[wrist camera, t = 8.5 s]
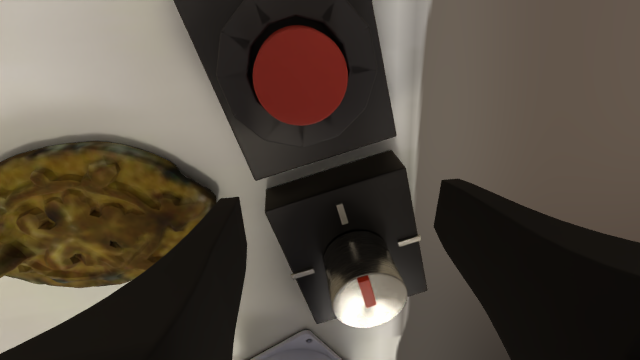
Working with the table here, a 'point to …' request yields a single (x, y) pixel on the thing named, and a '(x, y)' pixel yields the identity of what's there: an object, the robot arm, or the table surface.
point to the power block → (238, 90)
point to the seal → (92, 213)
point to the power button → (300, 75)
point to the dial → (363, 280)
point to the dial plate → (345, 222)
